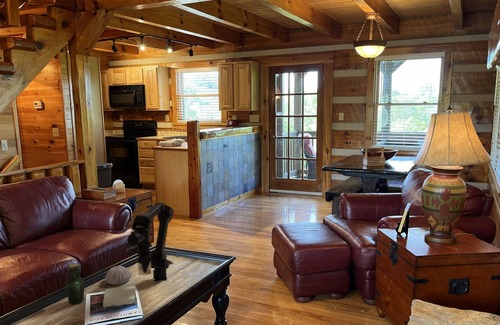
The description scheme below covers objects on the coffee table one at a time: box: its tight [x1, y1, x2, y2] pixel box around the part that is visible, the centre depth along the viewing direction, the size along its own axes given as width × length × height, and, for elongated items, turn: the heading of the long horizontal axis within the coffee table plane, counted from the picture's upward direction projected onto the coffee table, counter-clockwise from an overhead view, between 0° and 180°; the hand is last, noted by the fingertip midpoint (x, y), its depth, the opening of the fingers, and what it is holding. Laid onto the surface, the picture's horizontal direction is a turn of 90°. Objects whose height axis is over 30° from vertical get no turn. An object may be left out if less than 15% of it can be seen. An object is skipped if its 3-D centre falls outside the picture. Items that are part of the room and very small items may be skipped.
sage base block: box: [102, 285, 136, 307], centre depth 187 cm, size 14×14×3 cm
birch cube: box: [137, 262, 152, 276], centre depth 194 cm, size 6×6×6 cm
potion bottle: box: [65, 263, 85, 305], centre depth 185 cm, size 8×8×18 cm
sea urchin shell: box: [104, 265, 132, 286], centre depth 208 cm, size 13×14×8 cm
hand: (144, 270), depth 194 cm, fingers closed on birch cube, 6 cm apart
